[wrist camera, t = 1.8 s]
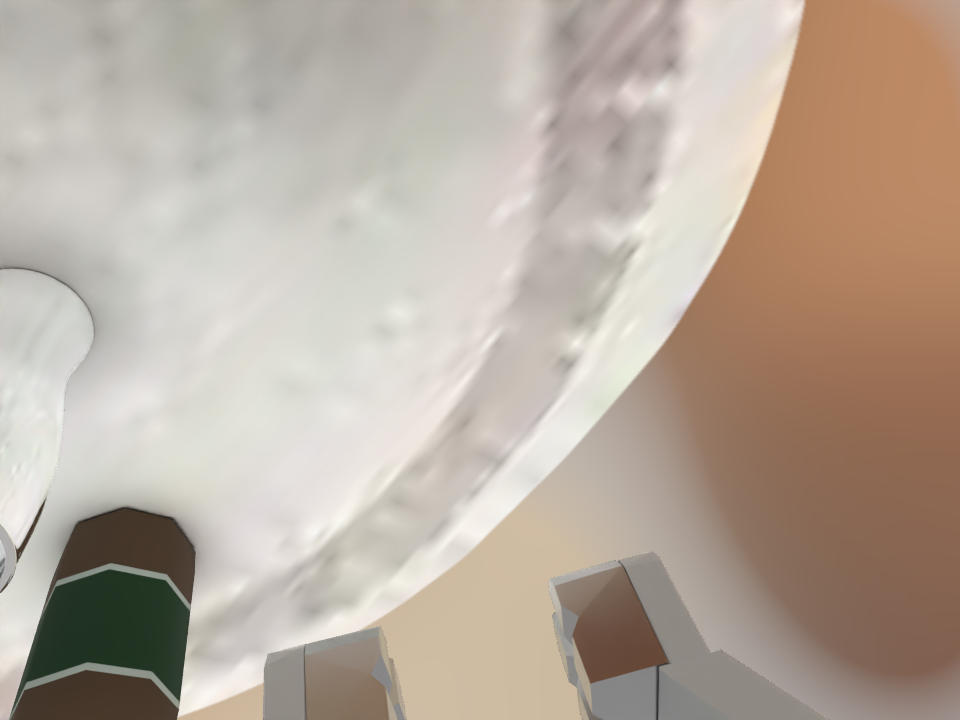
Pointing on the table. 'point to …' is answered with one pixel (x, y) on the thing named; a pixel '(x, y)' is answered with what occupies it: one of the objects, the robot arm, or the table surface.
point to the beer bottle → (112, 624)
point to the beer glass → (33, 397)
